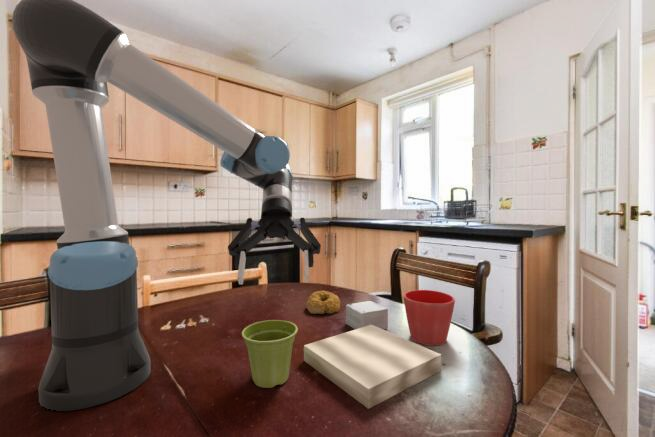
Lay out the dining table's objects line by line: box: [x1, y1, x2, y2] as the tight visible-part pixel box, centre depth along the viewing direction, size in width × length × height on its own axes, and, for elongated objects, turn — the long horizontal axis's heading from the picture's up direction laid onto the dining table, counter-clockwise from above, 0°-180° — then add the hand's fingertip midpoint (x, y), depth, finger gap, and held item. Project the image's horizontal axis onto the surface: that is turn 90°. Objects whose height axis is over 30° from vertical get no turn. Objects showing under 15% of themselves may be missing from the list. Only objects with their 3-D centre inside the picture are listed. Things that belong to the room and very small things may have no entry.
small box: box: [345, 300, 389, 330], centre depth 78 cm, size 8×8×5 cm
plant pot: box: [241, 319, 299, 389], centre depth 54 cm, size 9×9×9 cm
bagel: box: [305, 290, 341, 315], centre depth 91 cm, size 10×11×5 cm
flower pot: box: [402, 289, 456, 346], centre depth 70 cm, size 11×11×10 cm
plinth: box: [303, 325, 442, 409], centre depth 58 cm, size 18×18×3 cm
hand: (273, 280), depth 64 cm, fingers open, 13 cm apart
